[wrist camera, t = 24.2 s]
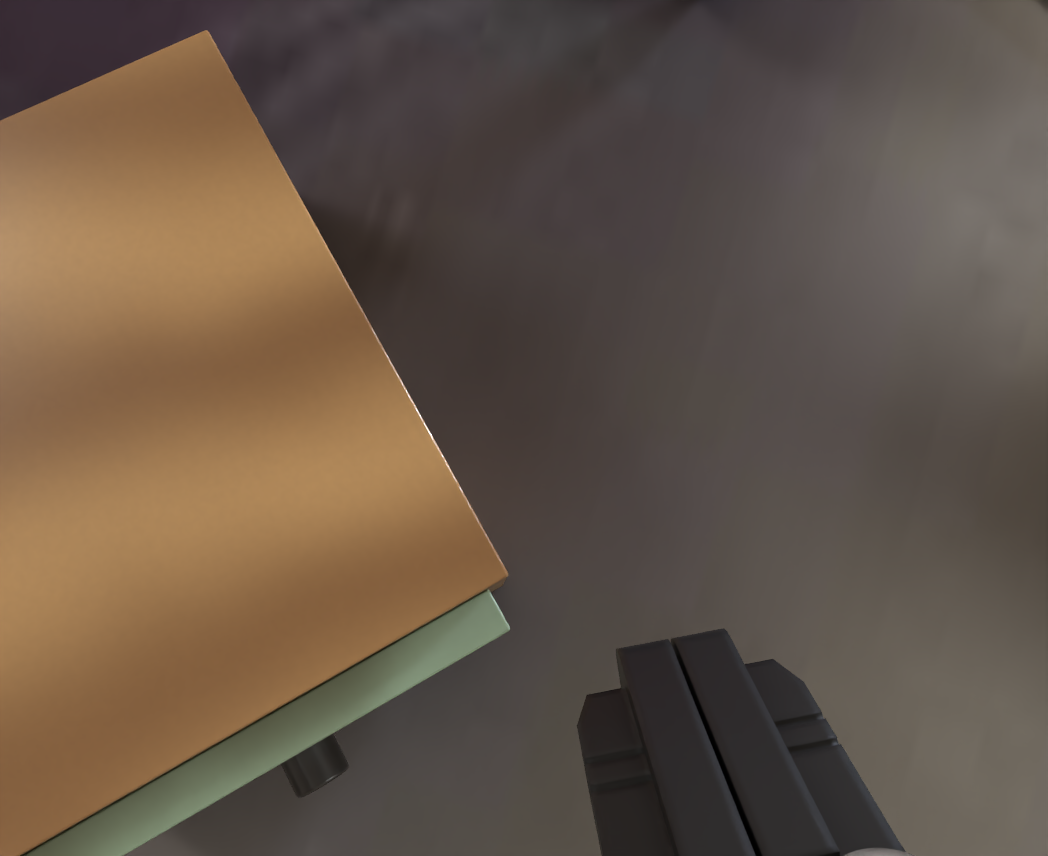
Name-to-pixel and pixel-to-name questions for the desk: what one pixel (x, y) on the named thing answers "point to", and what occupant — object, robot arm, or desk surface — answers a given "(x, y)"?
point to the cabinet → (188, 445)
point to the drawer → (284, 736)
